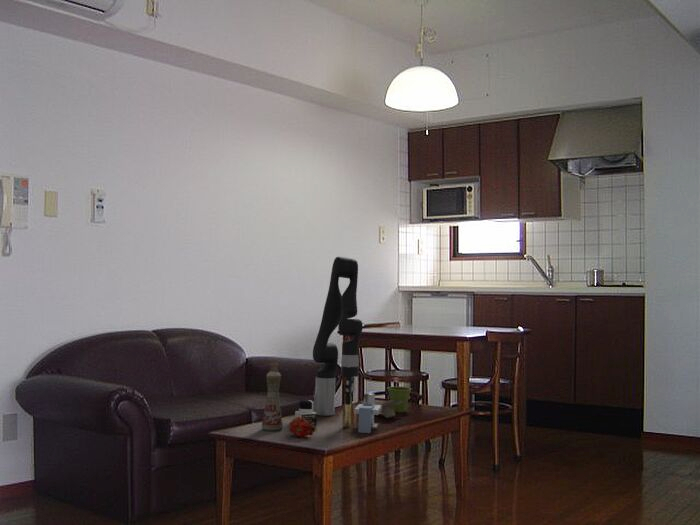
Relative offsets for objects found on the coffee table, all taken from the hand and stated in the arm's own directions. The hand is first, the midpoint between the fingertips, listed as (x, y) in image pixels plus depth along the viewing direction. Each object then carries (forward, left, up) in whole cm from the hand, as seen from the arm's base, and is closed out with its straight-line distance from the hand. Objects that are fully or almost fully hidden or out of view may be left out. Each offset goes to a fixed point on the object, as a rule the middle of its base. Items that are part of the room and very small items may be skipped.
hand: (349, 402), depth 348 cm
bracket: (+8, -7, -10) cm, 15 cm away
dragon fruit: (-15, -29, -10) cm, 34 cm away
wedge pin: (-1, 0, -10) cm, 10 cm away
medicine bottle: (-17, -12, -10) cm, 23 cm away
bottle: (-30, -17, -10) cm, 36 cm away
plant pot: (+17, +47, -10) cm, 51 cm away
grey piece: (+8, -2, -10) cm, 13 cm away
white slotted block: (+12, +28, -11) cm, 32 cm away
